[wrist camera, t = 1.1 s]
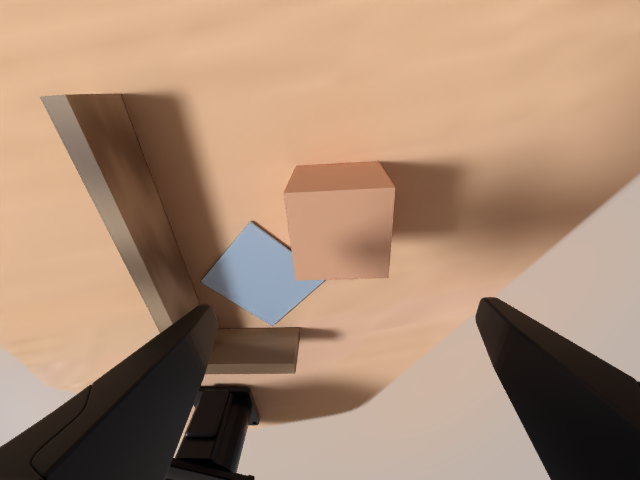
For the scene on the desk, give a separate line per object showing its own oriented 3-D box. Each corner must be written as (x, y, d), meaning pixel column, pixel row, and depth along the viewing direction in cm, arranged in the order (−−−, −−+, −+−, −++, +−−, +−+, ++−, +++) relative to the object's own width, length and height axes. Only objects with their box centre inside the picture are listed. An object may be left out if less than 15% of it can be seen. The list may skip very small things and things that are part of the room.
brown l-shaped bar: (299, 337, 24) (295, 373, 21) (199, 338, 24) (181, 374, 21) (262, 82, 14) (244, 80, 11) (99, 95, 15) (39, 96, 12)
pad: (326, 276, 20) (326, 278, 20) (272, 324, 23) (272, 326, 23) (250, 220, 18) (250, 222, 18) (201, 280, 21) (200, 282, 21)
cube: (375, 233, 19) (388, 278, 14) (303, 236, 19) (295, 280, 15) (378, 160, 16) (395, 187, 12) (296, 165, 16) (283, 193, 12)
